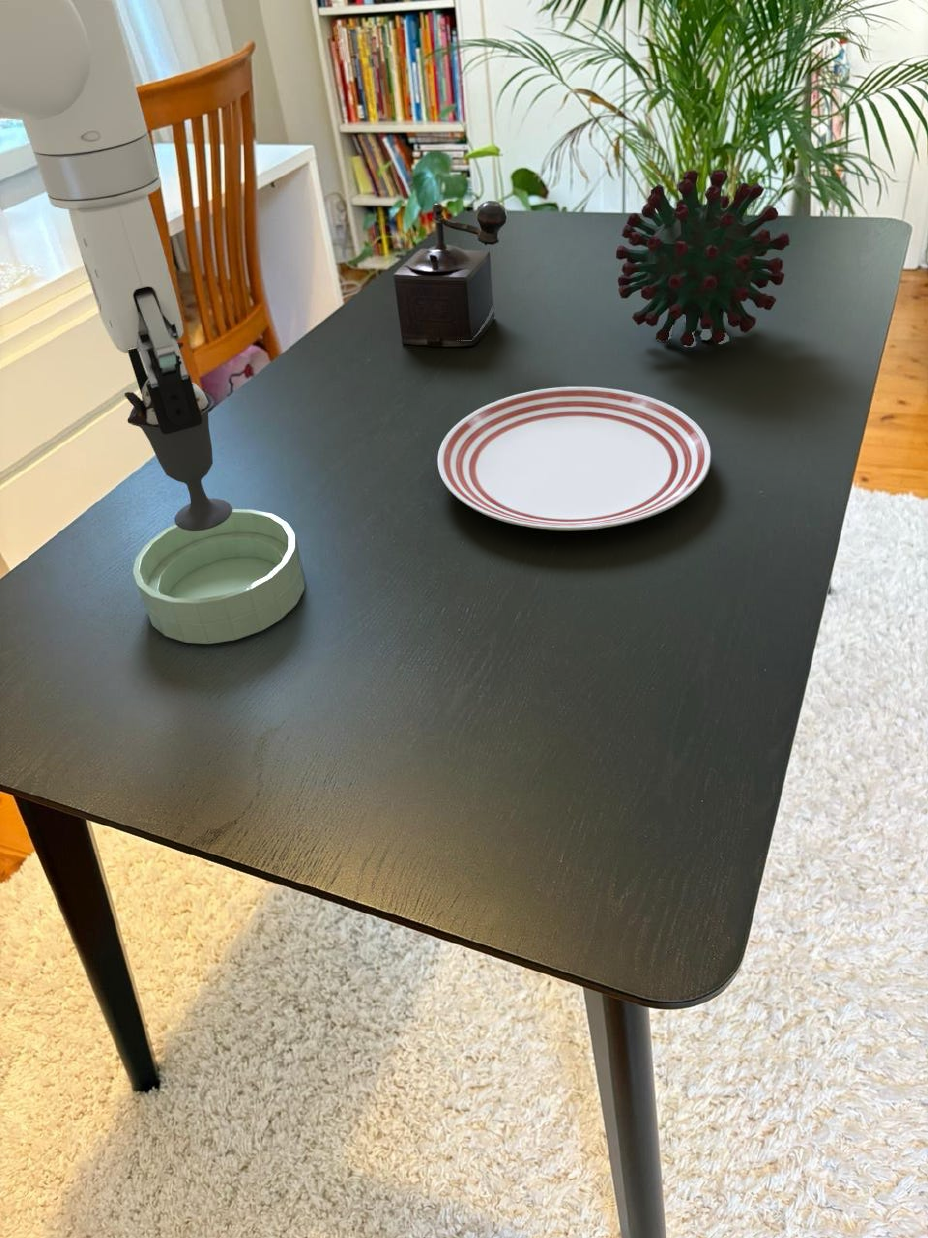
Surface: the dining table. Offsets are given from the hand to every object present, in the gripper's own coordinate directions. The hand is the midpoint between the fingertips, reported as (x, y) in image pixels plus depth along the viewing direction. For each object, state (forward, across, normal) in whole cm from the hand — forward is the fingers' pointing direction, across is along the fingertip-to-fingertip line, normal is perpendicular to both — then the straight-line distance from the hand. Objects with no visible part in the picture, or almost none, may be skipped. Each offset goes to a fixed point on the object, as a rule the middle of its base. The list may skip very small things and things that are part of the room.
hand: (171, 407), depth 77 cm
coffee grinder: (+19, -41, +44) cm, 63 cm away
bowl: (+19, 0, 0) cm, 19 cm away
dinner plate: (+19, -1, +37) cm, 42 cm away
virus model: (+19, -20, +67) cm, 72 cm away
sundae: (+10, 0, 0) cm, 10 cm away
